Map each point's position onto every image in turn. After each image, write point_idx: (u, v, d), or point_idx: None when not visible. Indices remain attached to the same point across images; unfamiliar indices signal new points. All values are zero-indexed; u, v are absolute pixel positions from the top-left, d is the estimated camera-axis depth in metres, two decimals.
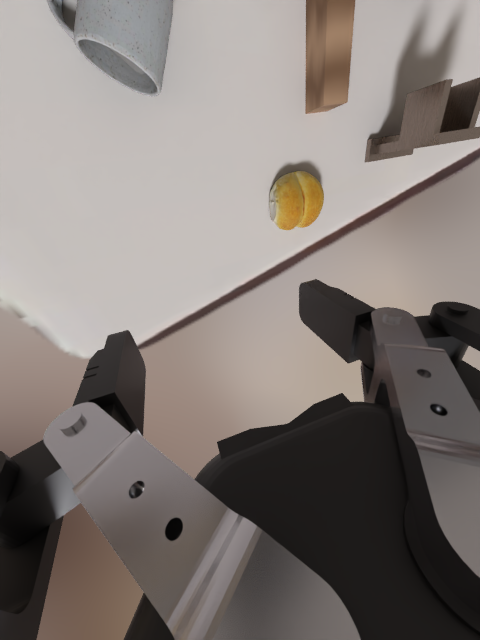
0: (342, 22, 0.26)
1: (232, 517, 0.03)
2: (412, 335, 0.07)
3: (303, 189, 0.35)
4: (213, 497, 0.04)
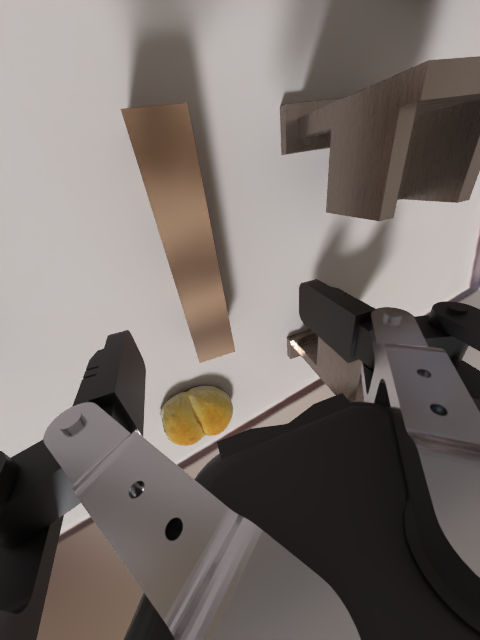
0: (205, 292, 0.18)
1: (232, 517, 0.03)
2: (412, 335, 0.07)
3: (198, 416, 0.27)
4: (213, 497, 0.04)
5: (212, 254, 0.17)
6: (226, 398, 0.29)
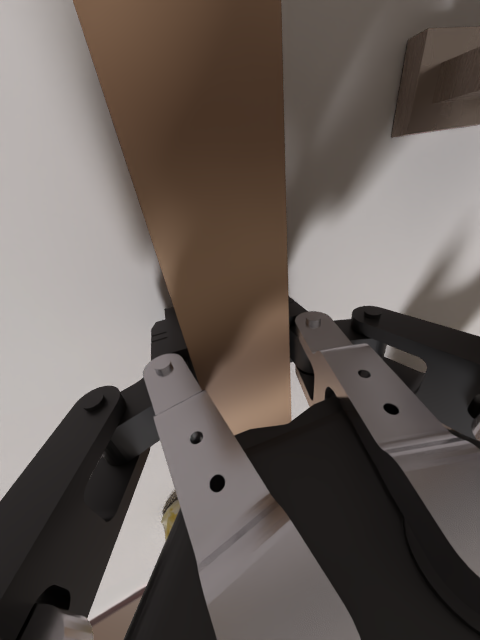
0: (258, 399, 0.09)
1: (269, 500, 0.03)
2: (322, 338, 0.07)
3: None
4: (256, 474, 0.04)
5: (280, 337, 0.08)
6: None
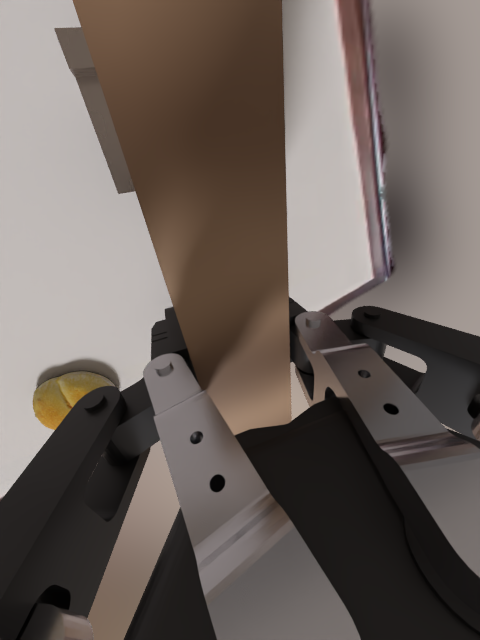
0: (258, 401, 0.09)
1: (269, 500, 0.03)
2: (322, 338, 0.07)
3: (68, 401, 0.28)
4: (256, 474, 0.04)
5: (281, 339, 0.08)
6: (104, 384, 0.29)
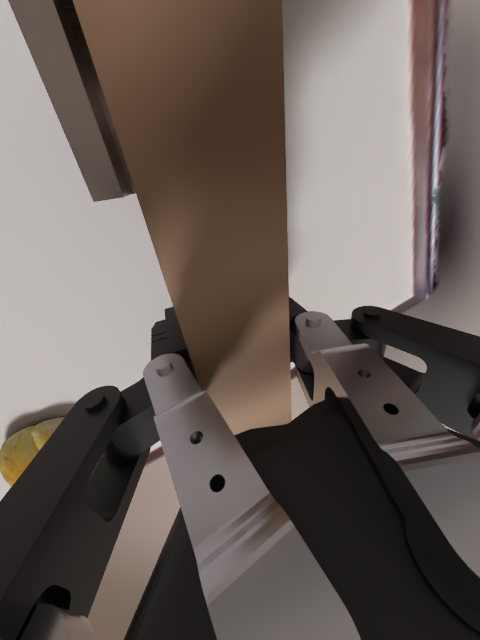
0: (258, 401, 0.09)
1: (269, 500, 0.03)
2: (322, 338, 0.07)
3: None
4: (256, 474, 0.04)
5: (281, 339, 0.08)
6: None
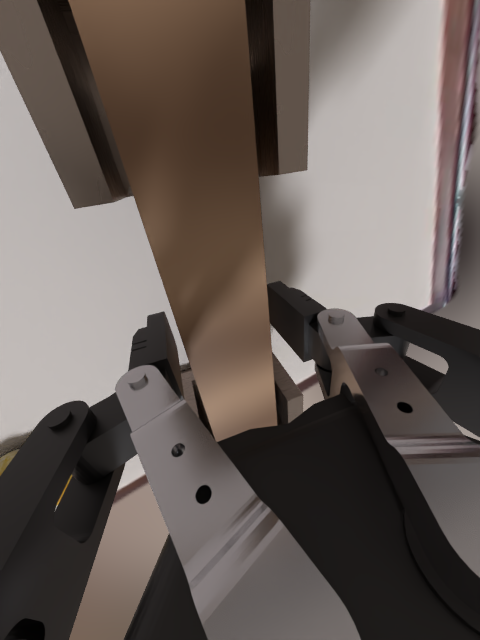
0: (243, 379, 0.11)
1: (257, 503, 0.03)
2: (348, 335, 0.07)
3: None
4: (242, 479, 0.04)
5: (262, 321, 0.09)
6: None
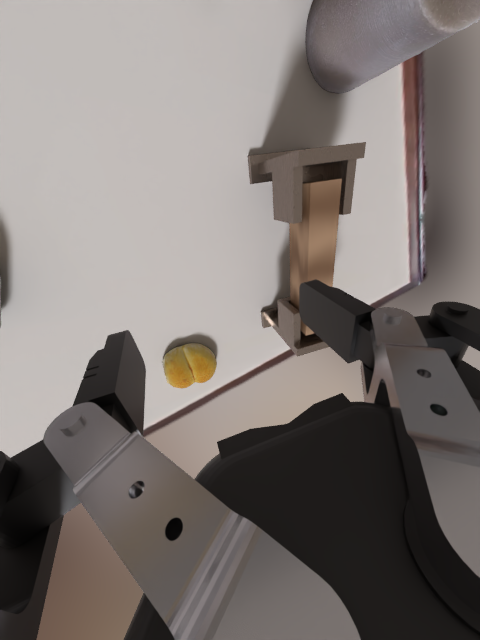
0: None
1: (232, 517, 0.03)
2: (412, 335, 0.07)
3: (190, 363, 0.38)
4: (213, 497, 0.04)
5: (332, 261, 0.27)
6: (211, 353, 0.39)
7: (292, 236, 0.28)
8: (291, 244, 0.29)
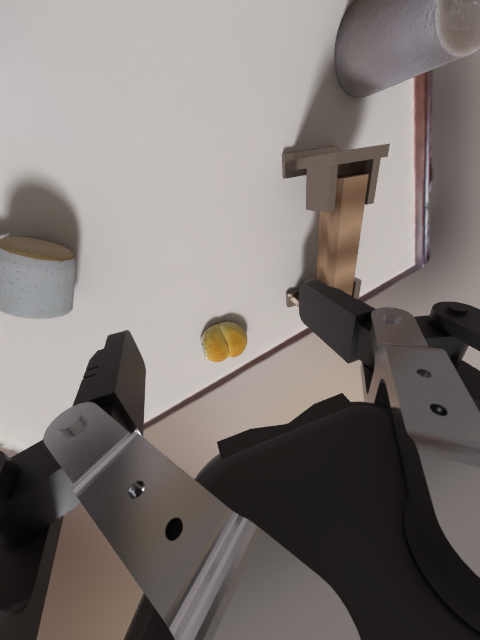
0: (347, 265, 0.34)
1: (232, 517, 0.03)
2: (412, 335, 0.07)
3: (226, 339, 0.43)
4: (213, 497, 0.04)
5: (357, 244, 0.32)
6: (243, 330, 0.45)
7: (322, 223, 0.33)
8: (320, 230, 0.34)
